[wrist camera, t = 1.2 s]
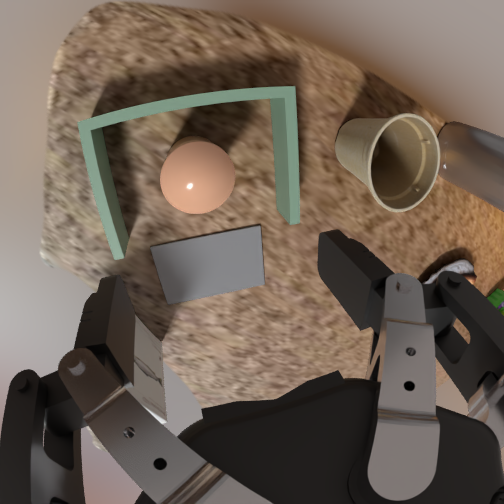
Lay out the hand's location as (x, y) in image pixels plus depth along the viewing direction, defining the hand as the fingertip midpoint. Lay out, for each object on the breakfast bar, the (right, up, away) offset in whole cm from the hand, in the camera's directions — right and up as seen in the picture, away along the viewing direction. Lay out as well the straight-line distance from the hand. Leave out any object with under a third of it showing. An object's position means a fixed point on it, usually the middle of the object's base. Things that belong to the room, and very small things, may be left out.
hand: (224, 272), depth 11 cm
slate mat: (-4, -1, +22) cm, 22 cm away
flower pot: (+13, +13, +19) cm, 26 cm away
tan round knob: (-5, +9, +15) cm, 19 cm away
